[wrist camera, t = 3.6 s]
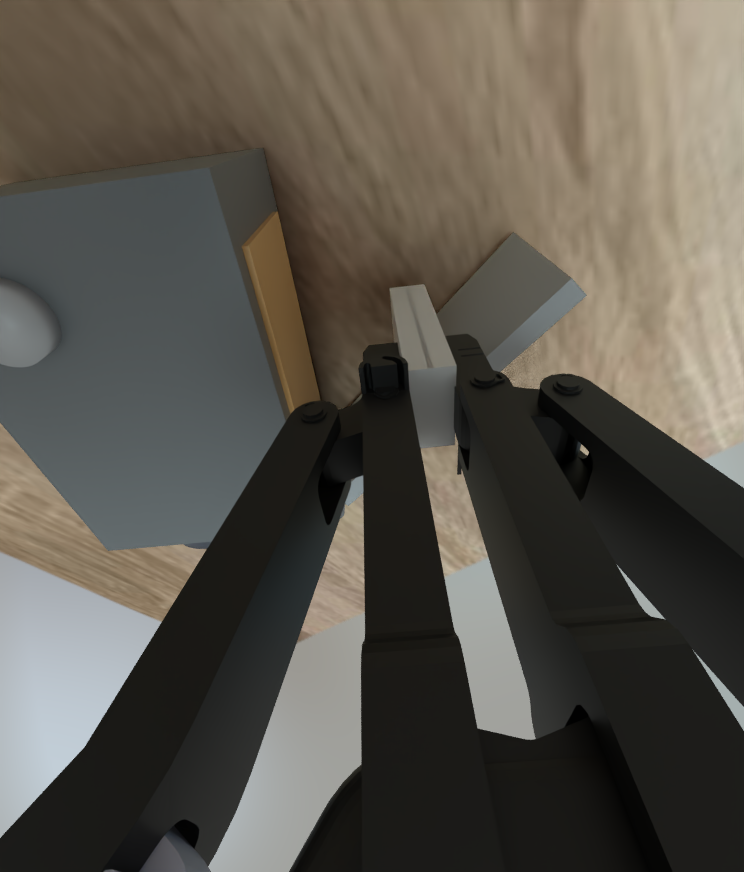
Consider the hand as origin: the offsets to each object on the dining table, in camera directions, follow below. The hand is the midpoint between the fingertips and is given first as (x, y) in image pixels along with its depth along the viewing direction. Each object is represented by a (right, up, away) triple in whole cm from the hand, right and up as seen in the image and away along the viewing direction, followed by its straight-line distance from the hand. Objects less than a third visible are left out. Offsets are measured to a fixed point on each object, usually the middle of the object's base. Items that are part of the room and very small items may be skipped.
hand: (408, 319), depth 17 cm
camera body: (-10, 0, +3) cm, 10 cm away
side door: (+1, 0, +4) cm, 4 cm away
